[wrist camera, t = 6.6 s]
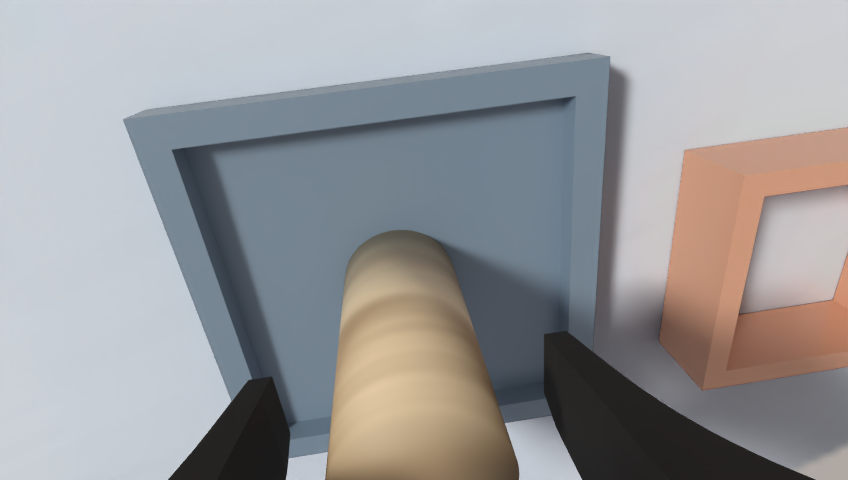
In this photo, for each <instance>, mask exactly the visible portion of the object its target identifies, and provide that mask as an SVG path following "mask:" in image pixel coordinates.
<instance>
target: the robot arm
mask: <svg viewBox="0 0 848 480" xmlns="http://www.w3.org/2000/svg"><path fill="white" fill-rule="evenodd" d="M544 394H545V397H546V400H547V403H548V406H549V409H550V411H551V414H552V417H553V420H554V422H555V425H556V428H557V430H558V432H559V434H560V436H561V438H562V440H563V442H564V444H565V446H566V448H567V450H568V452H569V454H570V456H571V458H572V460H573V462H574V464H575V466H576V468H577V470H578V472H579V474H580V476H581V478H582V480H815V479H813V478H810V477H808V476H805V475H803V474H800V473H798V472H796V471H793V470H791V469H789V468H786V467H784V466H781V465H779V464H777V463H775V462H772V461H770V460H768V459H766V458H764V457H761V456H759V455H757V454H755V453H753V452H751V451H749V450H747V449H745V448H743V447H741V446H738V445H736V444H734V443H732V442H730V441H728V440H726V439H724V438H722V437H720V436H719V435H717V434H715V433H713V432H711V431H709V430H707V429H706V428H704V427H702V426H700V425H699V424H697V423H695V422H693V421H692V420H690V419H688V418H686V417H685V416H683V415H681V414H679V413H678V412H676V411H675V410H673V409H671V408H670V407H668V406H667V405H665V404H663V403H662V402H660V401H659V400H657V399H656V398H654V397H653V396H651V395H650V394H648V393H647V392H645V391H644V390H642V389H641V388H640V387H638V386H637V385H635V384H634V383H633V382H631V381H630V380H629V379H627V378H626V377H625V376H623V375H622V374H621V373H619V372H618V371H617V370H615V369H614V368H613V367H611V366H610V365H609V364H607V363H606V362H605V361H604V360H602V359H601V358H600V357H599V356H597V355H596V354H595V353H594V352H592V351H591V350H590V349H589V348H587V347H586V346H585V345H584V344H583V343H581V342H580V341H579V340H578V339H576V338H575V337H574V336H573V335H571V334H570V333H569V332H567V331H561V332H555V333H548V334H544ZM290 434H291V433H290V430H289V427H288V424H287V421H286V418H285V415H284V411H283V408H282V405H281V402H280V399H279V396H278V393H277V390H276V387H275V384H274V381H273V378H272V376H271V377H264V378H258V379H251V380H248V381H247V383H246V384H245V385H244V386H243V388H242V389H241V390H240V391H239V393H238V394H237V395H236V396H235V398H234V399H233V400H232V402H231V403H230V404H229V406H228V407H227V408H226V410H225V411H224V412H223V414H222V415H221V416H220V417H219V419H218V420H217V421H216V423H215V424H214V425H213V426H212V428H211V429H210V430H209V431H208V433H207V434H206V435H205V436H204V438H203V439H202V440H201V442H200V443H199V444H198V445H197V447H196V448H195V449H194V450H193V451H192V453H191V454H190V455H189V456H188V457H187V458H186V460H185V461H184V462H183V463H182V464H181V465H180V467H179V468H178V469H177V470H176V471H175V472H174V473H173V475H172V476H171V477H170V478H169V479H168V480H286V475H287V467H288V458H289V446H290Z"/></svg>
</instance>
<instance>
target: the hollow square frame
mask: <svg viewBox="0 0 848 480" xmlns="http://www.w3.org/2000/svg"><path fill="white" fill-rule="evenodd" d="M841 185H848V127H847V128H840V129H833V130H826V131H819V132H811V133H804V134H797V135H790V136H783V137H775V138H768V139H761V140H754V141H747V142H739V143H732V144H725V145H718V146H711V147H703V148H696V149H689V150H685V153H684V160H683V168H682V175H681V182H680V190H679V197H678V204H677V212H676V219H675V227H674V234H673V241H672V249H671V256H670V263H669V271H668V278H667V285H666V293H665V300H664V308H663V315H662V322H661V330H660V337H659V342H660V344H661V345H662V346H663V347H664V348H665V349H666V350H667V351H668V353H669V354H670V355H671V356H672V357H673V358H674V359H675V360H676V362H677V363H678V364H679V365H680V366H681V367H682V368H683V370H684V371H685V372H686V373H687V374H688V375H689V376H690V377H691V379H692V380H693V381H694V382H695V383H696V384H697V385H698V386H699V388H700V389H701V390H702V391H703V390H709V389H715V388H721V387H727V386H733V385H739V384H746V383H752V382H758V381H764V380H770V379H776V378H782V377H789V376H795V375H801V374H807V373H813V372H819V371H825V370H832V369H838V368H844V367H848V255H847V258H846V261H845V264H844V267H843V270H842V274H841V277H840V280H839V283H838V286H837V289H836V292H835V295H834V298H833V300H830V301H824V302H817V303H811V304H804V305H798V306H791V307H785V308H779V309H772V310H766V311H759V312H753V313H747V314H740V315H738V314H739V309H740V305H741V300H742V296H743V291H744V287H745V282H746V278H747V273H748V269H749V264H750V260H751V255H752V251H753V246H754V242H755V237H756V232H757V228H758V223H759V219H760V214H761V210H762V205H763V201H764V197H765V196H772V195H779V194H786V193H793V192H800V191H807V190H814V189H821V188H828V187H835V186H841Z"/></svg>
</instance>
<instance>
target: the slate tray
mask: <svg viewBox="0 0 848 480" xmlns="http://www.w3.org/2000/svg"><path fill="white" fill-rule="evenodd" d="M609 70H610V56H604V55H598V54H592V53H584V54H577V55H569V56H561V57H553V58H546V59H538V60H530V61H522V62H514V63H507V64H499V65H491V66H483V67H475V68H468V69H460V70H452V71H444V72H436V73H429V74H421V75H413V76H405V77H397V78H390V79H382V80H374V81H366V82H358V83H351V84H343V85H335V86H327V87H319V88H312V89H304V90H296V91H288V92H280V93H273V94H265V95H257V96H249V97H241V98H234V99H226V100H218V101H210V102H202V103H195V104H187V105H179V106H171V107H164V108H156V109H148V110H144V111H142V112H139V113H137V114H135V115H132V116H130V117H127V118H125V119H123V121H124V124H125V126H126V129H127V131H128V134H129V137H130V139H131V142H132V144H133V147H134V149H135V152H136V155H137V157H138V160H139V162H140V165H141V168H142V170H143V173H144V175H145V178H146V181H147V183H148V186H149V188H150V191H151V193H152V196H153V199H154V201H155V204H156V206H157V209H158V212H159V214H160V217H161V219H162V222H163V225H164V227H165V230H166V232H167V235H168V238H169V240H170V243H171V245H172V248H173V250H174V253H175V256H176V258H177V261H178V263H179V266H180V269H181V271H182V274H183V276H184V279H185V282H186V284H187V287H188V289H189V292H190V295H191V297H192V300H193V302H194V305H195V307H196V310H197V313H198V315H199V318H200V320H201V323H202V326H203V328H204V331H205V333H206V336H207V339H208V341H209V344H210V346H211V349H212V352H213V354H214V357H215V359H216V362H217V364H218V367H219V370H220V372H221V375H222V377H223V380H224V383H225V385H226V388H227V390H228V393H229V396H230V398H231V401H232V400H233V399H234V398H235V396H236V395H237V394H238V393H239V391H240V390H241V389H242V388H243V386H244V385H245V384H246V383H247V381H248V380H251V379H258V378H264V377H271V376H272V378H273V381H274V384H275V387H276V390H277V393H278V396H279V399H280V402H281V405H282V408H283V411H284V415H285V418H286V421H287V424H288V427H289V430H290V433H291V434H290V446H289V458H293V457H299V456H306V455H312V454H318V453H324V452H328V447H329V436H330V426H331V416H332V406H333V395H334V385H335V375H336V364H337V354H338V344H339V333H340V323H341V313H342V302H343V292H344V282H345V273H346V268H347V265H348V262H349V260H350V258H351V256H352V255H353V253H354V252H355V251H356V250H357V249H358V247H359V246H360V245H362V244H363V243H364V242H365V241H367V240H368V239H370V238H371V237H374V236H376V235H378V234H381V233H384V232H387V231H392V230H410V231H416V232H419V233H422V234H425V235H427V236H429V237H431V238H433V239H434V240H436V241H437V242H438V243H439V244H440V245H441V246H442V247H443V248H444V249H445V250H446V252H447V253H448V255H449V257H450V259H451V261H452V264H453V267H454V270H455V273H456V276H457V279H458V282H459V286H460V289H461V292H462V295H463V298H464V301H465V304H466V307H467V310H468V313H469V316H470V319H471V322H472V325H473V328H474V331H475V334H476V337H477V340H478V343H479V346H480V349H481V352H482V356H483V359H484V362H485V365H486V368H487V371H488V374H489V377H490V380H491V383H492V386H493V389H494V392H495V395H496V398H497V401H498V404H499V407H500V410H501V413H502V416H503V419H504V423H508V422H514V421H520V420H527V419H533V418H539V417H545V416H551V415H552V414H551V411H550V409H549V406H548V403H547V400H546V397H545V394H544V334H548V333H555V332H561V331H567V332H569V333H570V334H571V335H573V336H574V337H575V338H576V339H578V340H579V341H580V342H581V343H583V344H584V345H585V346H586V347H587V348H589V349H590V350H591V351H592V352H593V338H594V321H595V304H596V288H597V271H598V254H599V238H600V221H601V204H602V187H603V171H604V154H605V137H606V120H607V104H608V87H609Z"/></svg>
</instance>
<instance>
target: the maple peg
mask: <svg viewBox="0 0 848 480" xmlns="http://www.w3.org/2000/svg"><path fill="white" fill-rule="evenodd" d="M325 480H519V467H518V462H517V459H516V456H515V453H514V450H513V447H512V444H511V441H510V438H509V435H508V432H507V429H506V426H505V423H504V419H503V416H502V413H501V410H500V407H499V404H498V401H497V398H496V395H495V392H494V389H493V386H492V383H491V380H490V377H489V374H488V371H487V368H486V365H485V362H484V359H483V356H482V352H481V349H480V346H479V343H478V340H477V337H476V334H475V331H474V328H473V325H472V322H471V319H470V316H469V313H468V310H467V307H466V304H465V301H464V298H463V295H462V292H461V289H460V286H459V282H458V279H457V276H456V273H455V270H454V267H453V264H452V261H451V259H450V257H449V255H448V253H447V252H446V250H445V249H444V248H443V247H442V246H441V245H440V244H439V243H438V242H437V241H436V240H434V239H433V238H431V237H429V236H427V235H425V234H422V233H419V232H416V231H410V230H392V231H387V232H384V233H381V234H378V235H376V236H374V237H371V238H370V239H368V240H367V241H365V242H364V243H363V244H362V245H360V246H359V247H358V249H357V250H356V251H355V252H354V253H353V255H352V256H351V258H350V260H349V262H348V265H347V268H346V273H345V282H344V292H343V302H342V313H341V323H340V333H339V344H338V354H337V364H336V375H335V385H334V395H333V406H332V416H331V426H330V436H329V447H328V457H327V467H326V478H325Z"/></svg>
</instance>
